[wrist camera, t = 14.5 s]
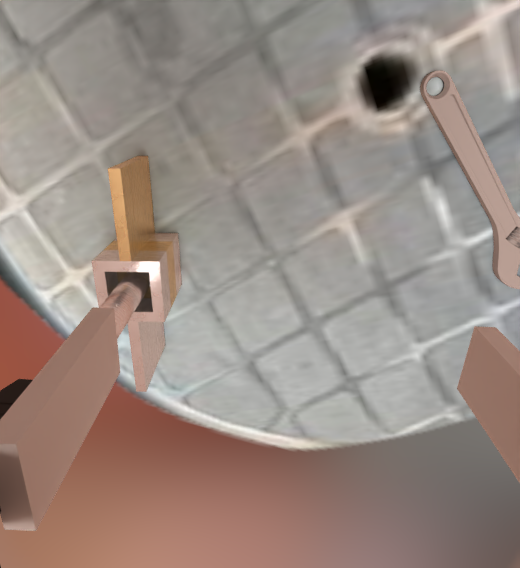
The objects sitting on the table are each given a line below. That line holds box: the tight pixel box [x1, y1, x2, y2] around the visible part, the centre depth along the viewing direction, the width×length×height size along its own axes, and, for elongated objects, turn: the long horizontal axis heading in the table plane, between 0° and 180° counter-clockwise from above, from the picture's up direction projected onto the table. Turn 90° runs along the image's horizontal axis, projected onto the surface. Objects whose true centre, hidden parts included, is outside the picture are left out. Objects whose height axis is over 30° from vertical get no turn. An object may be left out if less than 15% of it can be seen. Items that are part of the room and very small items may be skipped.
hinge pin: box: [99, 272, 150, 339], centre depth 40 cm, size 2×2×16 cm
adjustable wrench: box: [420, 71, 520, 289], centre depth 43 cm, size 25×6×2 cm, turn 31°
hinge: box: [92, 156, 182, 392], centre depth 43 cm, size 22×6×9 cm, turn 0°
